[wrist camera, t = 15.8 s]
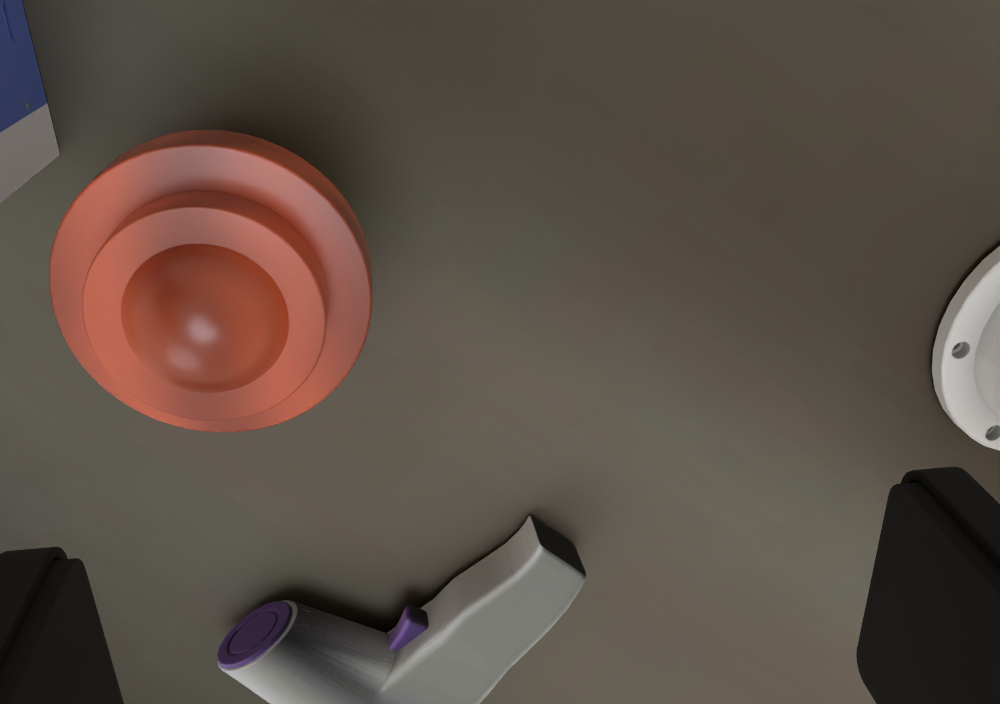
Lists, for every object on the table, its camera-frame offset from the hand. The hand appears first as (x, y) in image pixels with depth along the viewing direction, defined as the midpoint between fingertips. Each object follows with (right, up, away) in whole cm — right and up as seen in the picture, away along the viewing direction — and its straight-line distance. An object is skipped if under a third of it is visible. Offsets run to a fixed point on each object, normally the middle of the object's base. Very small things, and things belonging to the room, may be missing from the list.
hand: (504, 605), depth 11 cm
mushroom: (-10, +8, +26) cm, 29 cm away
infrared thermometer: (-5, -9, +36) cm, 37 cm away
